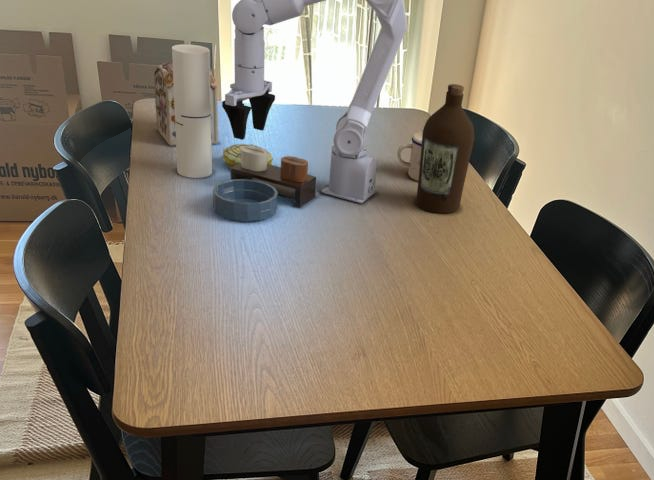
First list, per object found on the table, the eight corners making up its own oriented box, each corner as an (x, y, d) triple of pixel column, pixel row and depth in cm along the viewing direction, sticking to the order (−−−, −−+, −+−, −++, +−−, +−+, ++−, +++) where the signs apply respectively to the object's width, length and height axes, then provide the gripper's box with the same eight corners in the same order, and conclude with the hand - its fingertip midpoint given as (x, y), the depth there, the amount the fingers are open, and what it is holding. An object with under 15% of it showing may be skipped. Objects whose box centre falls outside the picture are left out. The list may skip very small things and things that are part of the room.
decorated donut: (254, 179, 162) (254, 162, 160) (213, 166, 165) (213, 149, 163) (280, 166, 170) (281, 149, 168) (241, 154, 173) (241, 138, 171)
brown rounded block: (310, 178, 154) (311, 160, 152) (301, 183, 151) (302, 166, 149) (286, 171, 155) (286, 154, 153) (276, 177, 152) (277, 159, 150)
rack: (315, 197, 157) (316, 176, 155) (299, 208, 152) (300, 186, 149) (248, 179, 161) (248, 158, 159) (230, 188, 156) (230, 168, 153)
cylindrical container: (203, 180, 158) (200, 55, 144) (171, 173, 158) (165, 49, 145) (217, 169, 164) (215, 48, 150) (186, 163, 164) (181, 42, 150)
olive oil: (423, 191, 167) (440, 75, 154) (468, 203, 165) (489, 86, 151) (405, 206, 159) (421, 85, 145) (452, 219, 156) (472, 97, 142)
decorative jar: (156, 130, 180) (151, 50, 170) (204, 128, 185) (202, 51, 175) (168, 147, 171) (164, 64, 161) (219, 144, 176) (217, 65, 166)
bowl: (287, 207, 151) (288, 189, 149) (256, 228, 141) (257, 209, 139) (235, 193, 154) (234, 174, 152) (201, 212, 144) (200, 193, 142)
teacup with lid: (442, 171, 180) (449, 122, 173) (448, 185, 172) (456, 135, 166) (392, 167, 178) (398, 118, 171) (397, 181, 170) (403, 130, 164)
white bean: (270, 167, 156) (271, 150, 154) (261, 173, 153) (261, 155, 151) (247, 161, 157) (247, 144, 155) (237, 166, 154) (237, 149, 152)
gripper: (251, 54, 154) (250, 121, 161) (210, 67, 142) (212, 138, 150) (281, 61, 152) (279, 128, 159) (243, 74, 140) (243, 146, 148)
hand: (249, 133), depth 154 cm, fingers open, 7 cm apart
